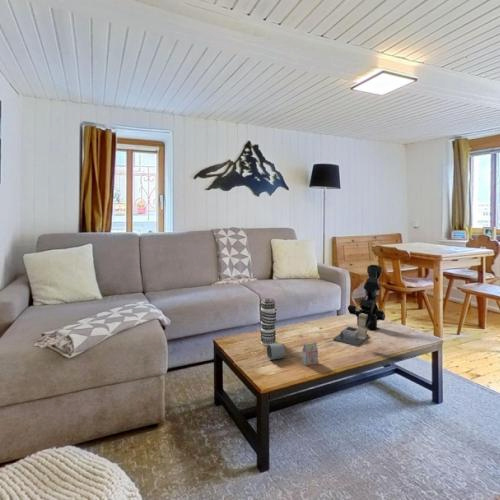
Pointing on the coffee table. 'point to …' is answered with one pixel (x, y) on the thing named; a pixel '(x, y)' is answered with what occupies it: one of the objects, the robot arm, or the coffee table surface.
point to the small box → (310, 354)
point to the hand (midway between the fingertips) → (361, 326)
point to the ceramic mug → (276, 351)
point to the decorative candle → (268, 321)
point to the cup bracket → (349, 336)
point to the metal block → (362, 326)
